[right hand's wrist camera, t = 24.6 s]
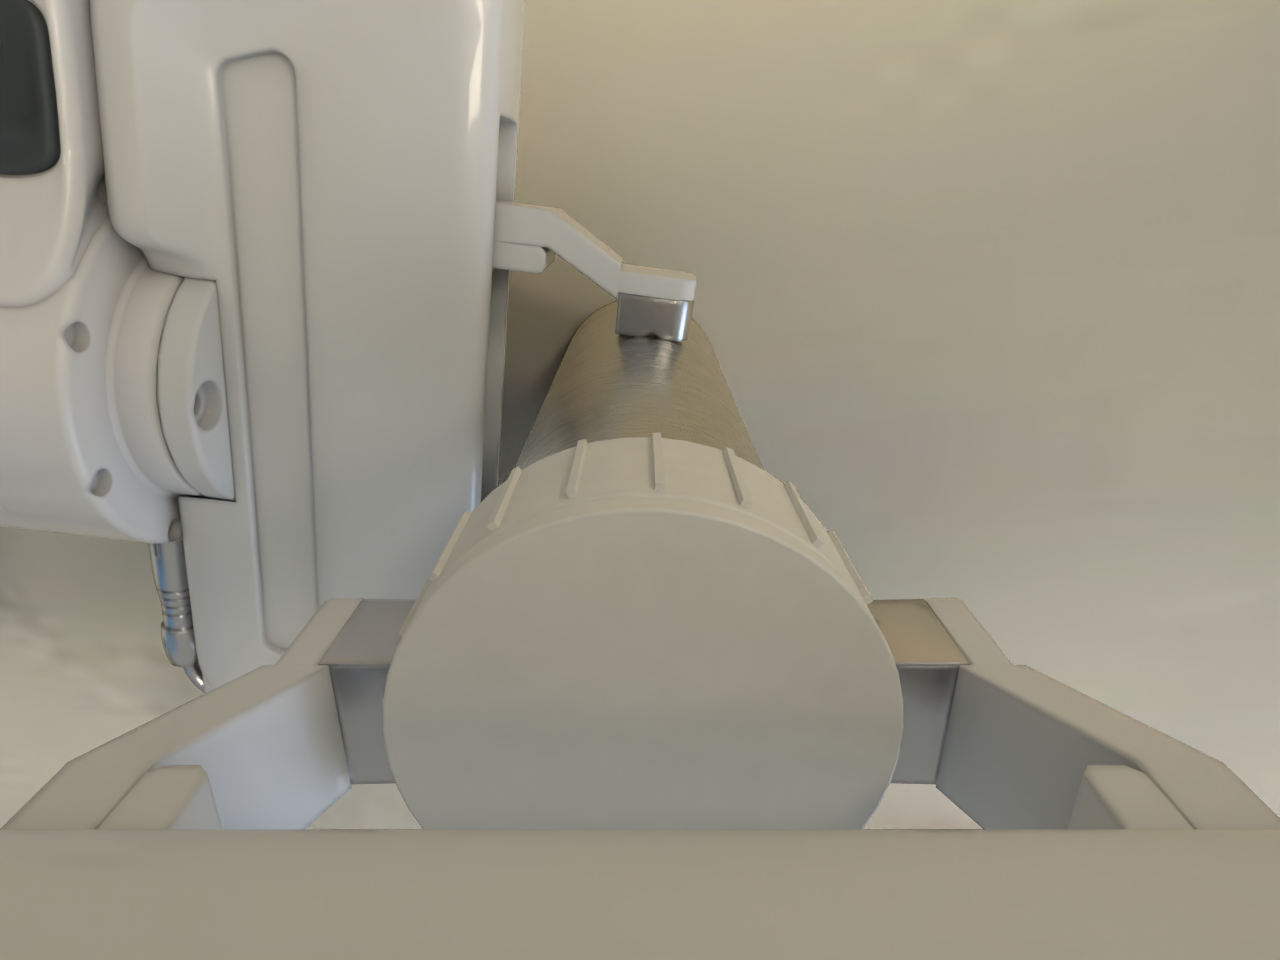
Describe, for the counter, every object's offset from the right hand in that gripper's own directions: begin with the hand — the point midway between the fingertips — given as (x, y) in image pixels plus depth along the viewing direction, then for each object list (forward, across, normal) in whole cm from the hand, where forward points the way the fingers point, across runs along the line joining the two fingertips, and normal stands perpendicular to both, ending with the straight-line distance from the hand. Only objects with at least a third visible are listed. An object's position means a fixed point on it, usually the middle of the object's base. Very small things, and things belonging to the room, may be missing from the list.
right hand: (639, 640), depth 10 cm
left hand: (+9, -1, 0) cm, 9 cm away
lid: (-2, 0, 0) cm, 2 cm away
